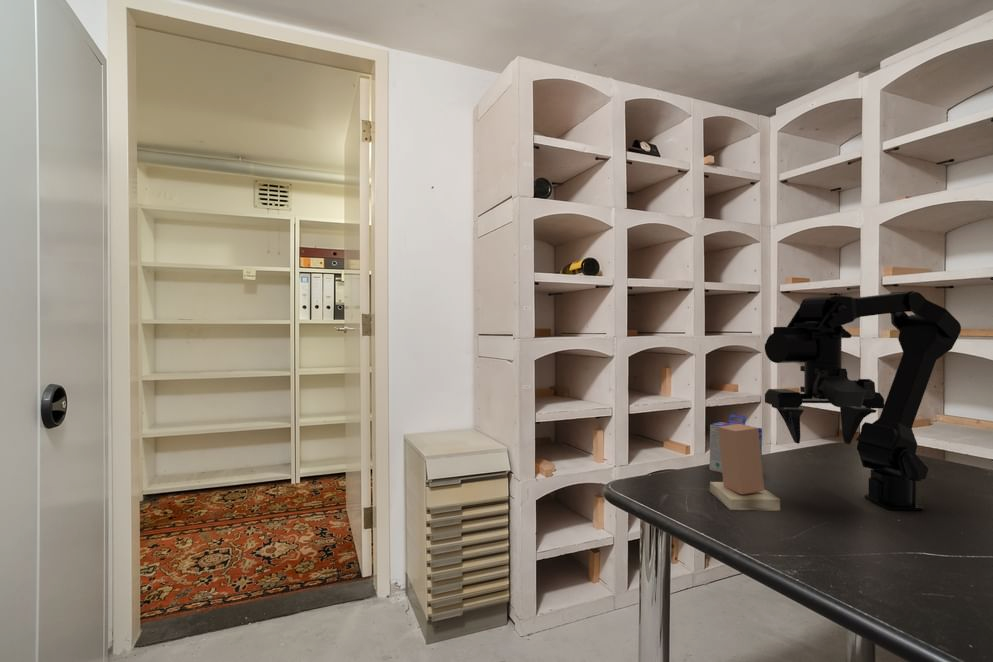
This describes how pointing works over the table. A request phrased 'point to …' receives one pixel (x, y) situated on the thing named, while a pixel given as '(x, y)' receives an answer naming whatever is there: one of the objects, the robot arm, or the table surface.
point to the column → (741, 458)
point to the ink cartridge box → (715, 446)
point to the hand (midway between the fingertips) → (822, 443)
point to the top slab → (744, 498)
